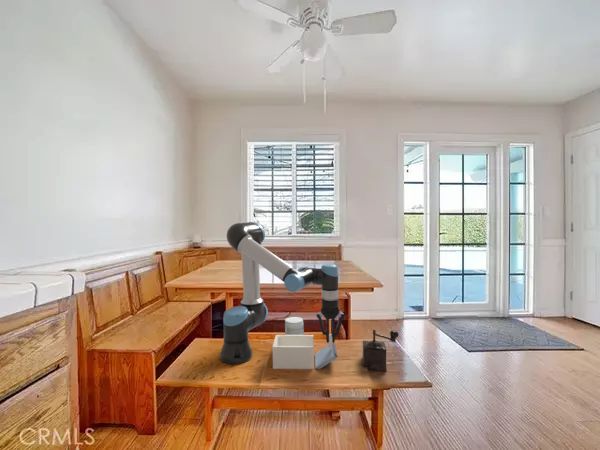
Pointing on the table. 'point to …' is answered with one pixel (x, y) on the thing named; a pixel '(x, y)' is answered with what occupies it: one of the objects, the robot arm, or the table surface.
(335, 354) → the light blue panel
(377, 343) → the dark brown coffee grinder
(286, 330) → the supplement tub
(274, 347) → the box
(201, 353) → the table surface
